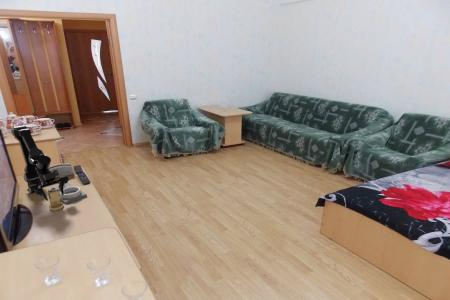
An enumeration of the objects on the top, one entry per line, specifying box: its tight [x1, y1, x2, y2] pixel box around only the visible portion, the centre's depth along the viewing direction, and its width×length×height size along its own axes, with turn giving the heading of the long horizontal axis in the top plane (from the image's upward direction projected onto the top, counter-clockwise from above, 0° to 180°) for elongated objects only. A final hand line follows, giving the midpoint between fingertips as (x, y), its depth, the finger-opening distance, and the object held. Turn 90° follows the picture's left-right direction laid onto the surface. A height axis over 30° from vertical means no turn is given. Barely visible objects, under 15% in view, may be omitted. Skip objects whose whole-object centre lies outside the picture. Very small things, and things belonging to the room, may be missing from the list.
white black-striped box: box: [49, 163, 74, 178], centre depth 191 cm, size 17×5×10 cm, turn 125°
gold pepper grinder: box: [47, 187, 64, 212], centre depth 152 cm, size 7×7×12 cm
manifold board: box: [47, 182, 88, 205], centre depth 168 cm, size 23×12×5 cm, turn 53°
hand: (55, 197), depth 151 cm, fingers open, 7 cm apart
